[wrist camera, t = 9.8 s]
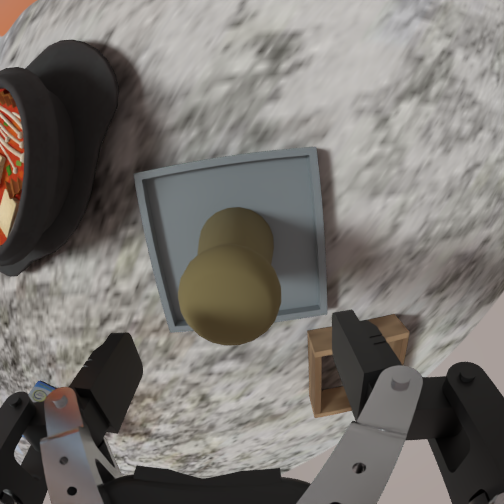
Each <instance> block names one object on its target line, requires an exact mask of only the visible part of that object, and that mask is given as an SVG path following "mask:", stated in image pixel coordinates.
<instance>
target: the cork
mask: <svg viewBox="0 0 504 504" xmlns="http://www.w3.org/2000/svg"><path fill="white" fill-rule="evenodd" d="M273 250H274V239H273V234H272V231H271V229H270V226H269V225H268V223H267V222H266V221H265V220H264V219H263V218H262V216H260V215H259V214H257V213H255V212H254V211H252V210H249V209H245V208H241V207H233V208H226V209H223V210H221V211H219V212H216V213H215V214H214V215H213V216H211V217H210V218H209V219H208V220H207V221H206V223H205V225H204V226H203V228H202V230H201V233H200V238H199V244H198V254H197V256H196V257H195V258H194V259H193V260H191V261H190V263H189V264H188V266H187V268H186V270H185V271H184V273H183V275H182V277H181V278H180V284H179V290H178V300H179V305H180V310H181V313H182V315H183V317H184V319H185V320H186V322H187V324H188V325H189V326H190V327H191V328H192V329H193V330H194V331H195V332H196V333H197V334H198V335H199V336H201V337H203V338H205V339H206V340H208V341H210V342H212V343H217V344H221V345H241V344H244V343H247V342H250V341H253V340H255V339H256V338H258V337H259V336H261V335H262V334H264V333H265V332H266V331H267V330H268V329H269V328H270V327H271V325H272V324H273V323H274V321H275V320H276V317H277V314H278V311H279V308H280V305H281V285H280V282H279V279H278V277H277V274H276V272H275V269H274V268H273V267H272V265H271V263H272V257H273Z"/></svg>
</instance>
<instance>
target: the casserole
mask: <svg viewBox="0 0 504 504" xmlns="http://www.w3.org/2000/svg"><path fill="white" fill-rule="evenodd" d="M118 93H119V88H118V84H117V80H116V76H115V73H114V71H113V69H112V68H111V66H110V64H109V62H108V60H107V59H106V58H105V57H104V56H103V55H102V54H101V53H100V52H99V51H98V49H96V48H94V47H92V46H91V45H89V44H87V43H85V42H81V41H76V40H62V41H59V42H57V43H54V44H52V45H50V46H48V47H47V48H46V49H45V50H44V51H43V52H42V53H41V54H40V55H39V56H38V57H37V58H36V59H35V60H34V61H32V62H31V63H30V64H29V66H28V67H27V68H26V69H23V68H19V67H13V68H6V69H4V70H1V71H0V272H1V273H3V274H5V275H7V276H18V275H19V274H20V273H21V272H23V271H24V270H25V269H26V268H27V267H28V266H29V265H30V264H31V263H32V262H34V261H36V260H38V259H40V258H42V257H45V256H47V255H49V254H51V253H53V252H55V251H56V250H58V249H59V248H60V247H61V246H62V245H63V244H65V243H66V242H67V240H68V239H69V238H70V236H71V235H72V234H73V232H74V231H75V230H76V229H77V227H78V225H79V223H80V221H81V219H82V217H83V215H84V213H85V211H86V207H87V204H88V201H89V198H90V195H91V192H92V187H93V181H94V176H95V171H96V165H97V160H98V155H99V151H100V147H101V144H102V141H103V139H104V136H105V134H106V131H107V129H108V127H109V124H110V122H111V120H112V117H113V115H114V113H115V111H116V108H117V104H118Z"/></svg>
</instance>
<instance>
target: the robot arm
mask: <svg viewBox="0 0 504 504" xmlns="http://www.w3.org/2000/svg"><path fill="white" fill-rule="evenodd" d="M332 353H333V359H334V362H335V365H336V367H337V370H338V373H339V376H340V378H341V381H342V384H343V386H344V389H345V392H346V395H347V398H348V400H349V403H350V406H351V409H352V412H353V414H354V417H355V420H356V422H355V421H352V422H351V424H350V425H349V426H348V428H347V430H346V431H345V433H344V435H343V436H342V438H341V440H340V441H339V443H338V445H337V446H336V448H335V449H334V451H333V452H332V454H331V456H330V457H329V459H328V460H327V462H326V463H325V465H324V466H323V468H322V469H321V471H320V472H319V473H318V475H317V476H316V478H315V479H314V481H313V482H312V483H311V484H310V483H308V482H304V481H301V480H298V479H292V478H285V477H281V472H280V468H276V469H265V470H250V471H239V472H235V473H231V474H226V475H221V476H216V477H211V478H205V479H201V478H197V477H193V476H189V475H186V474H182V473H179V472H176V471H172V470H169V469H161V468H152V467H144V466H136V469H135V473H134V474H133V475H127V476H123V475H122V474H121V472H120V469H119V467H118V465H117V463H116V460H115V458H114V456H113V453H112V451H111V449H110V446H109V444H108V441H107V439H106V438H105V437H104V436H105V433H106V432H110V433H117V434H118V432H119V429H120V427H121V425H122V422H123V420H124V417H125V415H126V413H127V410H128V408H129V405H130V403H131V401H132V398H133V396H134V394H135V392H136V389H137V387H138V385H139V382H140V380H141V378H142V375H143V366H142V362H141V359H140V357H139V355H138V352H137V349H136V347H135V344H134V342H133V339H132V337H131V335H130V334H129V333H111V334H110V335H109V336H108V338H107V339H106V341H105V342H104V343H103V345H101V346H100V347H98V348H97V349H96V350H94V351H93V353H92V354H91V355H90V357H89V358H88V361H86V362H85V364H84V365H83V366H84V367H82V368H81V370H80V371H79V373H78V374H77V376H76V377H75V378H74V380H73V381H72V383H71V384H70V386H69V387H61V388H58V389H55V390H53V391H52V392H51V393H49V394H48V396H47V397H46V398H45V401H41V402H33V401H32V400H31V398H30V397H29V395H28V394H27V393H25V392H17V393H14V394H12V395H11V396H9V397H8V398H7V399H6V401H5V402H4V403H3V405H2V406H1V408H0V504H43V501H44V498H45V496H46V493H47V490H48V492H49V496H50V500H51V504H377V502H378V500H379V498H380V496H381V494H382V492H383V490H384V488H385V486H386V484H387V482H388V480H389V478H390V475H391V473H392V471H393V469H394V467H395V464H396V462H397V460H398V457H399V455H400V452H401V450H402V447H403V445H404V442H405V440H418V439H419V440H420V439H428V442H429V444H430V447H431V449H432V451H433V454H434V456H435V459H436V461H437V464H438V466H439V469H440V472H441V474H442V477H443V479H444V482H445V485H446V487H447V490H448V493H449V496H450V499H451V502H452V504H504V397H503V396H502V394H501V393H500V392H499V390H498V389H497V387H496V386H495V385H494V383H493V382H492V381H491V379H490V378H489V377H488V376H487V374H486V373H485V372H484V371H483V369H482V368H481V367H480V366H478V365H476V364H474V363H471V362H459V363H456V364H454V365H453V366H452V367H450V369H449V370H448V372H447V375H446V376H444V377H430V378H429V377H422V376H421V374H420V373H419V372H418V371H417V370H415V369H414V368H411V367H408V366H403V365H402V363H401V362H400V360H399V359H398V357H397V356H396V354H395V353H394V351H393V350H392V348H391V347H390V345H389V344H388V342H387V341H386V339H385V338H384V336H382V333H381V332H380V330H379V329H378V327H377V326H376V325H374V324H373V323H371V322H370V321H368V320H363V321H359V319H358V318H357V316H356V315H355V313H354V311H353V310H346V311H341V312H335V313H333V314H332ZM22 435H23V436H24V437H25V438H26V439H27V441H28V442H29V443H30V444H31V446H30V448H29V450H28V452H27V454H26V456H25V458H24V460H23V462H22V464H21V466H20V465H19V463H18V462H17V461H16V460H15V457H14V450H15V448H16V446H17V444H18V442H19V441H20V439H21V437H22Z"/></svg>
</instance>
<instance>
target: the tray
mask: <svg viewBox="0 0 504 504" xmlns="http://www.w3.org/2000/svg"><path fill="white" fill-rule="evenodd" d="M134 180H135V186H136V192H137V197H138V203H139V208H140V214H141V219H142V224H143V228H144V233H145V238H146V242H147V247H148V251H149V256H150V260H151V264H152V268H153V272H154V276H155V280H156V284H157V288H158V292H159V295H160V299H161V303H162V306H163V310H164V313H165V317H166V320H167V324H168V327H169V330H170V332H185V331H194V330H193V329H192V328H191V327H190V326H189V325H188V324H187V322H186V320H185V319H184V317H183V315H182V313H181V310H180V305H179V300H178V290H179V284H180V278H181V277H182V275H183V273H184V271H185V270H186V268H187V266H188V264H189V263H190V261H191V260H193V259H194V258H195V257H196V256H197V254H198V244H199V238H200V233H201V230H202V228H203V226H204V225H205V223H206V221H207V220H208V219H209V218H210V217H211V216H213V215H214V214H215V213H216V212H219V211H221V210H223V209H226V208H233V207H241V208H245V209H249V210H252V211H254V212H255V213H257V214H259V215H260V216H262V218H263V219H264V220H265V221H266V222H267V223H268V225H269V226H270V229H271V231H272V234H273V239H274V250H273V257H272V263H271V265H272V267H273V268H274V269H275V272H276V274H277V277H278V279H279V282H280V285H281V305H280V308H279V311H278V314H277V317H276V320H275V321H274V322H280V321H287V320H294V319H301V318H307V317H314V316H320V315H326V314H327V279H326V256H325V238H324V222H323V209H322V197H321V186H320V176H319V166H318V157H317V148H316V147H305V148H293V149H282V150H273V151H264V152H255V153H247V154H240V155H232V156H225V157H219V158H212V159H206V160H200V161H194V162H189V163H183V164H178V165H173V166H168V167H163V168H158V169H153V170H148V171H144V172H139V173H135V174H134Z"/></svg>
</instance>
